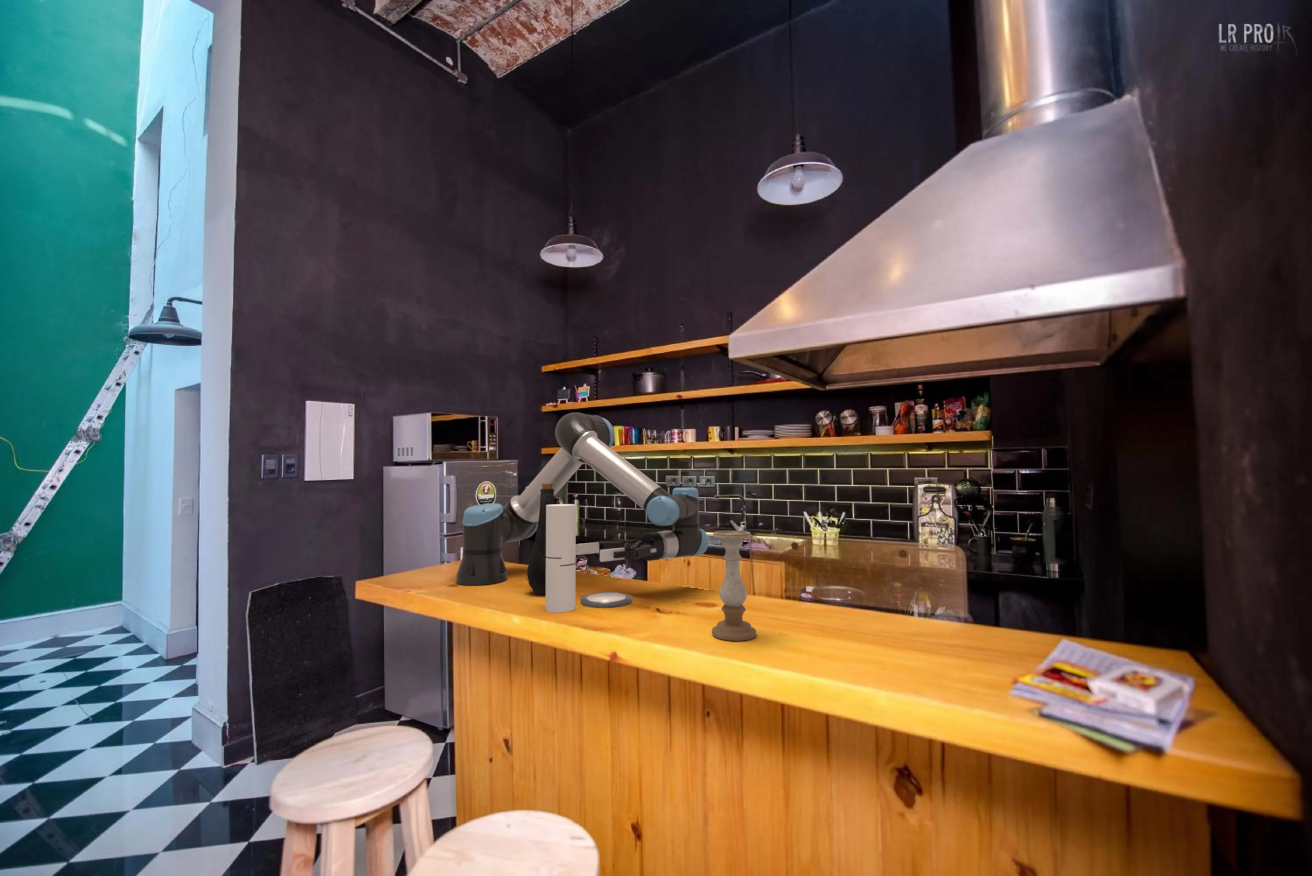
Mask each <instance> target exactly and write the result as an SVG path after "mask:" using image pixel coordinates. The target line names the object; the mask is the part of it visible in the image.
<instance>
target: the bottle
mask: <svg viewBox="0 0 1312 876" xmlns="http://www.w3.org/2000/svg"><path fill="white" fill-rule="evenodd" d="M552 486H553V484H542V489H541V490H540V492H541V497H540V512H539V520H538V527H537V530H536V535H535V540H534V543H533V548H532V551H531V553H530V556H529V560H528V564H527V571H526V577H527V581H528V585H529V587H530V588H531V590H532V591H533V595H535V596H542V597H543V596H545V597H546V505H554V504H555V496H554V489H552Z"/></svg>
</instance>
